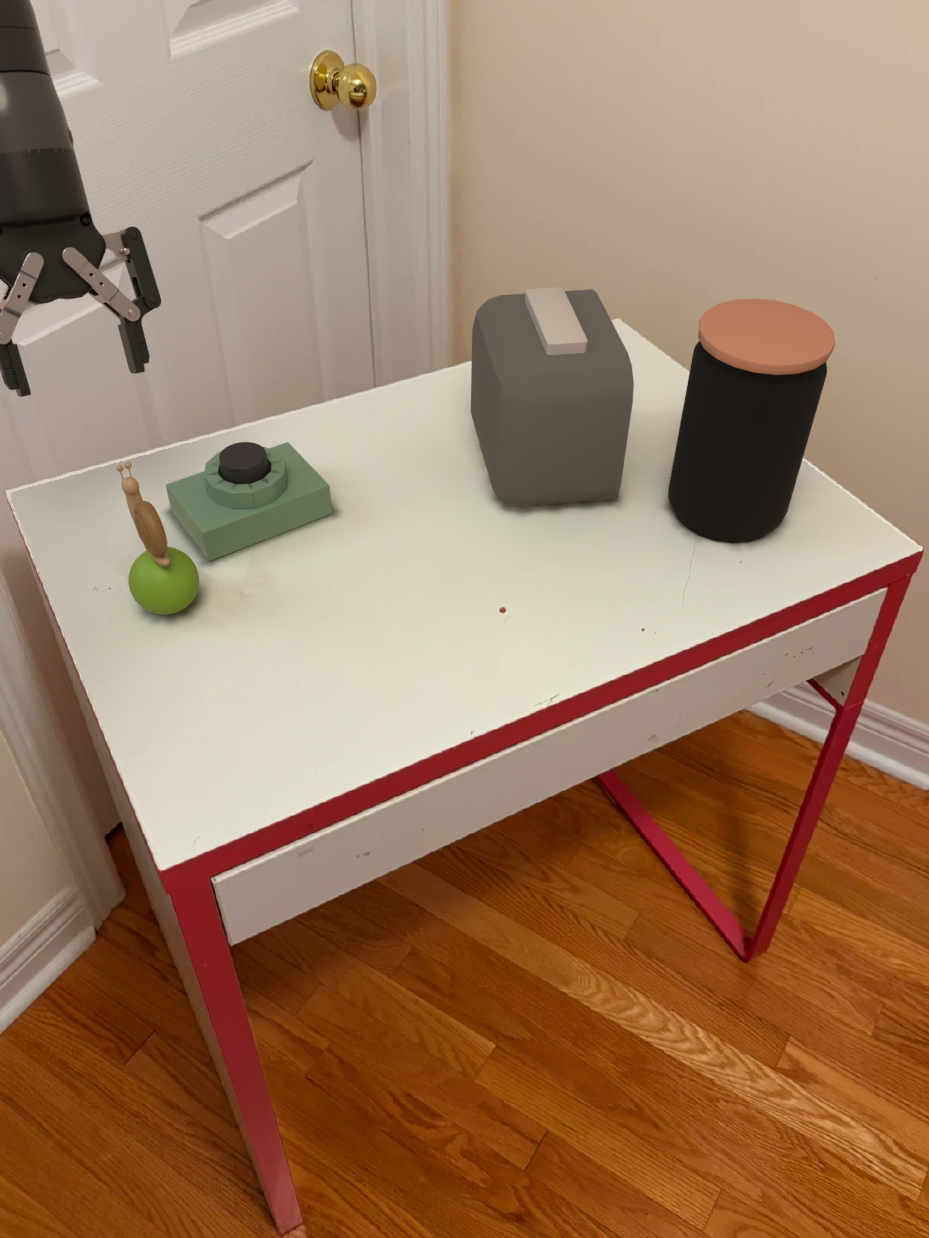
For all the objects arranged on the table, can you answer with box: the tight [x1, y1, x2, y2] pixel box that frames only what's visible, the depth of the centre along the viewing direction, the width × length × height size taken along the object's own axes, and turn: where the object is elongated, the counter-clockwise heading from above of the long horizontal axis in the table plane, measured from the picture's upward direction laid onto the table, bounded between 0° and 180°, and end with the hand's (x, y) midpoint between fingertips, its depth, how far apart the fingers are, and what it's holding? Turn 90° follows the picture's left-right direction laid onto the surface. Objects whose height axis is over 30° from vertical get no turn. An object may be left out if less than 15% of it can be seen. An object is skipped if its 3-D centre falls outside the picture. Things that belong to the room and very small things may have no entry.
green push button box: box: [165, 441, 333, 562], centre depth 92 cm, size 12×8×5 cm, turn 124°
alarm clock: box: [470, 286, 635, 508], centre depth 95 cm, size 16×11×16 cm
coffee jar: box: [667, 298, 836, 544], centre depth 89 cm, size 11×11×18 cm
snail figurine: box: [115, 461, 200, 616], centre depth 82 cm, size 5×6×12 cm
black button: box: [219, 441, 269, 484], centre depth 90 cm, size 4×4×2 cm
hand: (82, 384), depth 79 cm, fingers open, 8 cm apart
